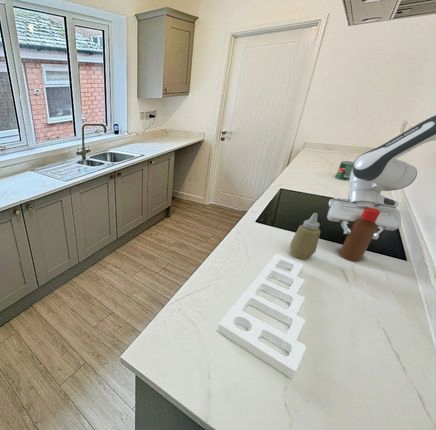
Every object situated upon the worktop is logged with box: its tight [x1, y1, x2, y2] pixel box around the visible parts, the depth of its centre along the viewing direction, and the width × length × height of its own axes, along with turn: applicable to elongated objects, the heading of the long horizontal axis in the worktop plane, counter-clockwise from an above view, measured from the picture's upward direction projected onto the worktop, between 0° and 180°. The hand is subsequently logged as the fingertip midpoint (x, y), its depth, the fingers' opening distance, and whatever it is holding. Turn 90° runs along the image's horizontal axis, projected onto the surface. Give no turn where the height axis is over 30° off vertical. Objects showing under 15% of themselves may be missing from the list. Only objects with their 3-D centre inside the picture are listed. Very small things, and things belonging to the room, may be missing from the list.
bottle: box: [338, 218, 378, 263], centre depth 95 cm, size 6×6×19 cm
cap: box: [361, 208, 380, 222], centre depth 91 cm, size 4×4×4 cm
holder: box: [216, 253, 307, 379], centre depth 78 cm, size 45×18×3 cm, turn 134°
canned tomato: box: [335, 160, 354, 181], centre depth 175 cm, size 8×8×11 cm
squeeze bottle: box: [289, 212, 321, 261], centre depth 96 cm, size 8×8×18 cm
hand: (360, 236), depth 94 cm, fingers closed on bottle, 6 cm apart
